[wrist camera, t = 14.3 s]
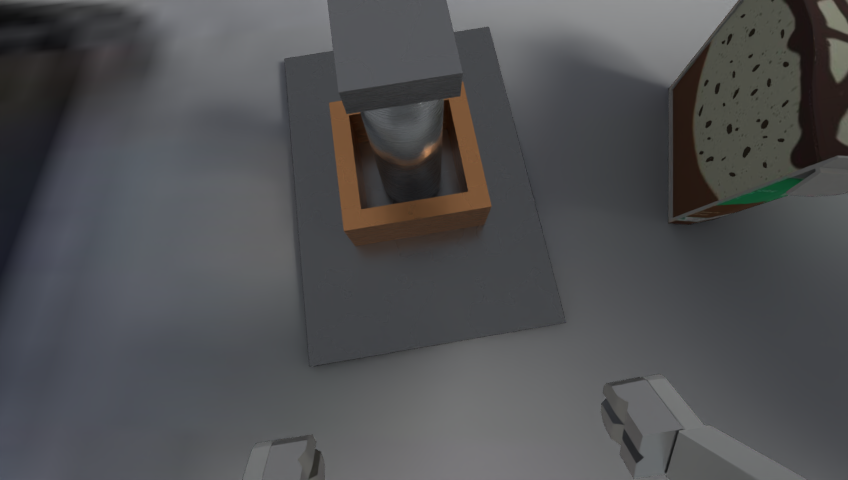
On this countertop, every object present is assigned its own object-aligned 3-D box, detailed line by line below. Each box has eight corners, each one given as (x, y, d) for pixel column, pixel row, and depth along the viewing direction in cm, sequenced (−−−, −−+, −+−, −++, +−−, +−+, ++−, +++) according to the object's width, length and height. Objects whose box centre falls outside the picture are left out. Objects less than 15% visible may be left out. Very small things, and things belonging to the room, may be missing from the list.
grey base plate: (487, 32, 27) (495, -13, 24) (563, 323, 22) (586, 317, 18) (287, 63, 27) (265, 22, 23) (312, 366, 21) (289, 369, 18)
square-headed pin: (437, 142, 24) (441, -24, 14) (449, 201, 23) (462, 72, 12) (374, 152, 24) (326, -7, 14) (383, 212, 23) (338, 92, 12)
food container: (779, 264, 22) (1041, 198, 13) (668, 247, 23) (839, 171, 13) (765, 81, 26) (965, -81, 16) (668, 69, 26) (806, -96, 16)
